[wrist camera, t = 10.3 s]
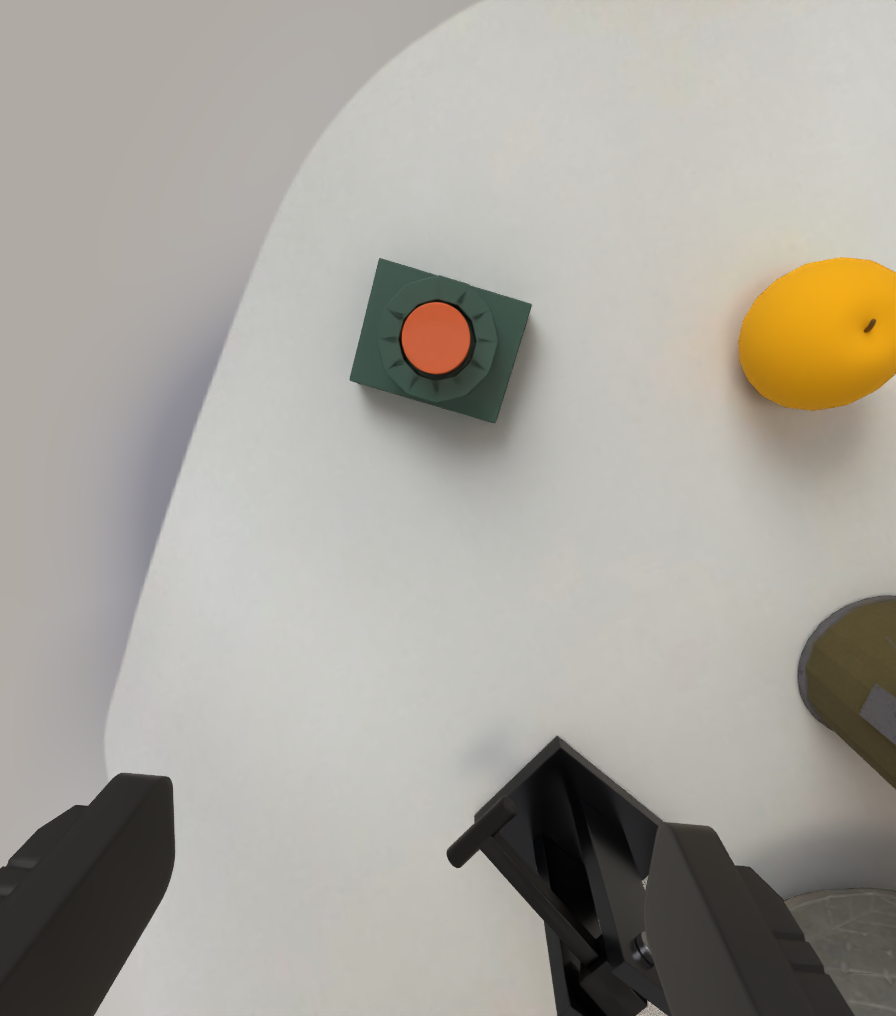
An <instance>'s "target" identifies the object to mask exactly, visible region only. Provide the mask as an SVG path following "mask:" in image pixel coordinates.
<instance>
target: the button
mask: <svg viewBox="0 0 896 1016" xmlns="http://www.w3.org/2000/svg"><path fill="white" fill-rule="evenodd" d="M402 346H403V349H404V352H405V354H406V356H407V358H408V359H409V361H410V362H411V363H412V364H413V365H414V366H415V367H417V368H418V369H420V370H422V371H424V372H427V373H430V374H446V373H449V372H451V371H453V370H455V369H456V368H457V367H459V366H460V365H461V364H462V363H463V361H464V360H465V358H466V356H467V354H468V351H469V347H470V330H469V327H468V324H467V322H466V320H465V318H464V317H463V315H462V314H461V313H460V312H459V311H458V310H457V309H455V308H454V307H452V306H450V305H448V304H445V303H440V302H432V303H427V304H424V305H422V306H420V307H418V308H417V309H415V310H414V311H413V312H412V313H411V314H410V315H409V317H408V318H407V320H406V322H405V324H404V327H403V330H402Z"/></svg>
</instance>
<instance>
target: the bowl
mask: <svg viewBox="0 0 896 1016" xmlns="http://www.w3.org/2000/svg"><path fill="white" fill-rule="evenodd" d="M784 902H785V904H786V906H787V907H788V909H789V910H790V912H791V914H792V915H793V917H794V919H795V920H796V922H797V923H798V925H799V927H800V928H801V930H802V931H803V933H804V938H805V941H806V942H809V943H810V944H811V946H812V948H813V949H814V951H815V952H816V954H817V956H818V957H819V959H820V961H821V962H822V964H823V965H824V971H825V973H826V974H829V975H830V977H831V978H832V980H833V982H834V983H835V985H836V986H837V988H838V990H839V991H840V993H841V994H842V996H843V998H844V999H845V1001H846V1003H847V1004H848V1006H849V1007H850V1009H851V1011H852V1012H853V1014H854V1016H896V891H894V890H884V889H873V888H853V889H845V890H821V891H816V892H810V893H805V894H802V895H798V896H795V897H792V898H790V899H788V900H786V901H784Z"/></svg>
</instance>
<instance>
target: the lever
mask: <svg viewBox="0 0 896 1016" xmlns="http://www.w3.org/2000/svg"><path fill="white" fill-rule="evenodd" d="M517 812H518V811H517V807H516V805H515V804H514V802H513V801H512V800H511V799H510V798H509V797H507V796H503V797H502V798H501V799H499V800H498V801H497V802H496V803H495V804H494V805H493V806H492V807H491V808H490V809H489V810H488V811H487V812H486V813H485V814H484V815H483V816H482V817H481V818H480V819H479V820H478V821H476V822H475V823H474V824H473V825H472V826H471V827H470V828H469V829H468V830H467V831H466V832H465V833H464V834H463V835H462V836H461V837H460V838H459V839H458V840H457V841H456V842H454V843H453V844H452V845H451V846H450V847H449V848H448V850H447V857H448V860H449V862H450V863H451V864H452V865H453V866H454V867H456V868H460V867H462V866H463V865H464V864H465V863H466V862H467V861H468V860H469V859H470V858H471V857H472V856H473V855H474V854H475V853H476V852H478V851H479V850H481V851H482V852H483V853H484V854H485V855H486V856H487V858H488V859H489V860H490V861H491V862H492V863H493V864H494V865H495V867H496V868H497V869H498V870H499V871H500V872H501V873H502V874H503V876H504V877H505V878H506V879H507V880H508V881H509V882H510V883H511V884H512V886H513V887H514V888H515V889H516V890H517V891H518V892H519V893H520V895H521V896H522V897H523V898H524V899H525V900H526V901H527V902H528V903H529V905H530V906H531V907H532V908H533V909H534V910H535V911H536V912H537V914H538V915H539V916H540V917H541V918H542V919H543V920H544V921H545V923H546V924H547V925H548V926H549V927H550V928H551V929H552V930H553V931H554V933H555V934H556V935H557V936H558V937H559V938H560V939H561V940H562V942H563V943H564V944H565V945H566V946H567V947H568V948H569V949H570V950H571V952H572V953H573V954H574V955H575V956H576V957H577V958H578V959H579V961H580V978H579V985H580V986H581V987H582V989H583V990H584V991H585V992H586V993H587V994H588V995H589V997H590V998H591V999H592V1000H593V1001H594V1002H595V1003H596V1004H597V1006H598V1007H599V1008H600V1009H601V1010H602V1011H603V1012H604V1014H605V1015H606V1016H636V1015H637V1014H638V1013H640V1012H641V1011H642V1010H643V1009H645V1008H646V1007H647V1005H648V1004H647V999H645V998H644V997H643V996H641V995H640V994H639V993H637V992H636V991H635V990H633V989H632V988H631V987H630V986H628V985H627V984H626V983H624V982H623V981H622V980H620V979H619V978H618V977H616V976H615V975H614V974H612V972H611V969H610V964H609V960H608V956H607V952H606V948H605V944H604V940H603V936H602V934H601V935H600V936H599V937H598V938H597V939H595V938H594V937H593V935H592V934H591V933H590V932H589V931H588V930H587V929H586V928H585V927H584V926H583V924H582V923H581V922H580V921H579V920H578V919H577V918H576V917H575V916H574V915H573V913H572V912H571V911H570V910H569V909H568V908H567V907H566V906H565V905H564V904H563V903H562V901H561V900H560V899H559V898H558V897H557V896H556V895H555V894H554V893H553V892H552V890H551V889H550V888H549V887H548V886H547V885H546V884H545V883H544V882H543V881H542V879H541V878H540V877H539V876H538V875H537V874H536V873H535V872H534V871H533V870H532V868H531V867H530V866H529V865H528V864H527V863H526V862H525V861H524V860H523V859H522V857H521V856H520V855H519V854H518V853H517V852H516V851H515V850H514V849H513V848H512V846H511V845H510V844H509V843H508V842H507V841H506V840H505V839H504V838H503V837H502V835H501V834H500V833H499V831H500V830H501V829H502V828H503V827H504V826H505V825H506V824H507V823H508V822H509V821H511V820H512V819H513V818H514V817H515V816H516V815H517Z"/></svg>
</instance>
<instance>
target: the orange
mask: <svg viewBox="0 0 896 1016" xmlns="http://www.w3.org/2000/svg"><path fill="white" fill-rule="evenodd" d="M738 344H739V357H740V363H741V365H742V367H743V370H744V372H745V375H746V377H747V379H748V381H749V382H750V383H751V384H752V385H753V386H754V387H755V389H756V390H757V391H758V392H759V393H760V394H761V395H762V396H763V397H765V398H767V399H769V400H771V401H773V402H775V403H777V404H779V405H782V406H784V407H787V408H795V409H803V410H812V411H814V410H821V409H827V408H833V407H839V406H845V405H848V404H850V403H852V402H854V401H856V400H858V399H860V398H862V397H864V396H866V395H868V394H870V393H872V392H874V391H876V390H877V389H879V388H880V387H881V386H882V385H884V384H885V383H886V382H887V381H888V380H889V379H890V378H892V377H893V376H894V375H895V374H896V273H895V272H894V271H892V270H890V269H888V268H886V267H884V266H882V265H880V264H878V263H876V262H873V261H871V260H863V259H854V258H841V257H840V258H835V259H829V260H824V261H818V262H813V263H808V264H805V265H803V266H801V267H799V268H797V269H795V270H793V271H792V272H790V273H788V274H786V275H784V276H782V277H781V278H779V279H777V280H776V281H775V282H773V283H772V284H771V285H770V286H769V287H768V288H767V289H766V290H765V291H764V292H763V293H762V294H761V295H760V296H759V297H758V298H757V299H756V300H755V302H754V303H753V305H752V307H751V308H750V310H749V312H748V313H747V315H746V317H745V318H744V320H743V324H742V328H741V332H740V336H739V341H738Z"/></svg>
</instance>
